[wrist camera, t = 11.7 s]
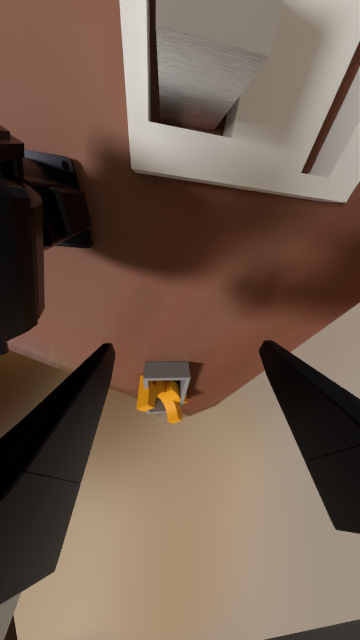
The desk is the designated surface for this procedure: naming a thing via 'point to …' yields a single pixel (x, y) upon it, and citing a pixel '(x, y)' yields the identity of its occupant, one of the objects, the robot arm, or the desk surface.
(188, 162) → the socket plate
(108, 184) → the desk surface
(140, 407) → the pipe clamp
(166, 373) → the clamp holder frame
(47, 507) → the robot arm
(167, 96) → the square peg
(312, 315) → the desk surface
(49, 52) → the desk surface
